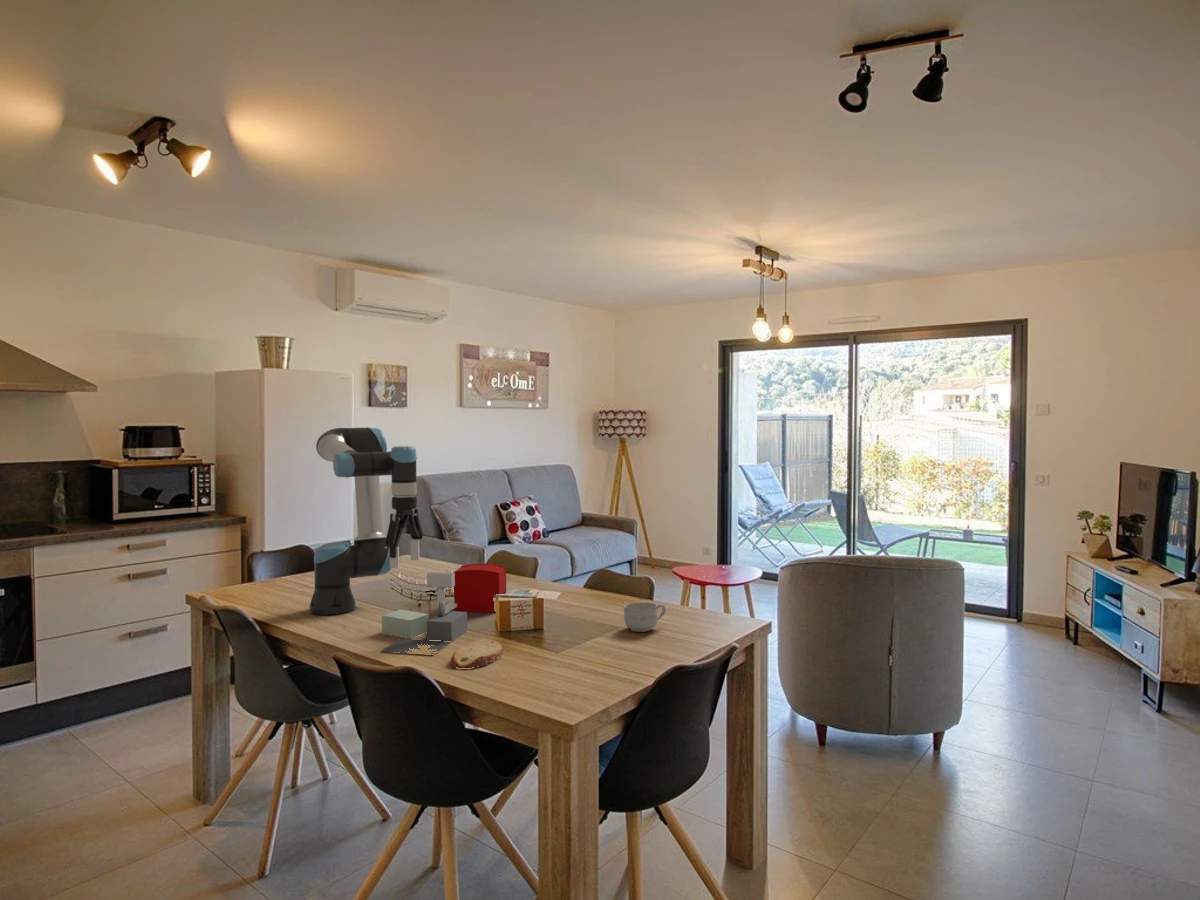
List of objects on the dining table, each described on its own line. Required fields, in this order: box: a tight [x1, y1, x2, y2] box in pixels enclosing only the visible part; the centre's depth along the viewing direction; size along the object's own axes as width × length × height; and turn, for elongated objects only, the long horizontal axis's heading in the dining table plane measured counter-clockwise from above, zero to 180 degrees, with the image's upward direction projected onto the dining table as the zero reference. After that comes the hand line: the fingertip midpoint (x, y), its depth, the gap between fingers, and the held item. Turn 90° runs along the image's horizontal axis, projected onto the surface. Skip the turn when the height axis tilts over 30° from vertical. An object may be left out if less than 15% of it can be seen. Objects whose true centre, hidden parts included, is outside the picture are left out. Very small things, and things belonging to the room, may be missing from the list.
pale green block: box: [381, 609, 430, 639], centre depth 223 cm, size 12×8×6 cm, turn 61°
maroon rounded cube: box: [453, 563, 507, 613], centre depth 252 cm, size 16×11×15 cm
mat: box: [380, 638, 451, 654], centre depth 208 cm, size 16×12×1 cm
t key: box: [426, 571, 457, 616], centre depth 224 cm, size 11×8×13 cm
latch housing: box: [426, 610, 468, 642], centre depth 220 cm, size 8×12×6 cm, turn 168°
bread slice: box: [449, 638, 504, 668], centre depth 200 cm, size 18×18×4 cm
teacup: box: [623, 601, 667, 633], centre depth 226 cm, size 14×11×8 cm
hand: (405, 563), depth 222 cm, fingers open, 13 cm apart
